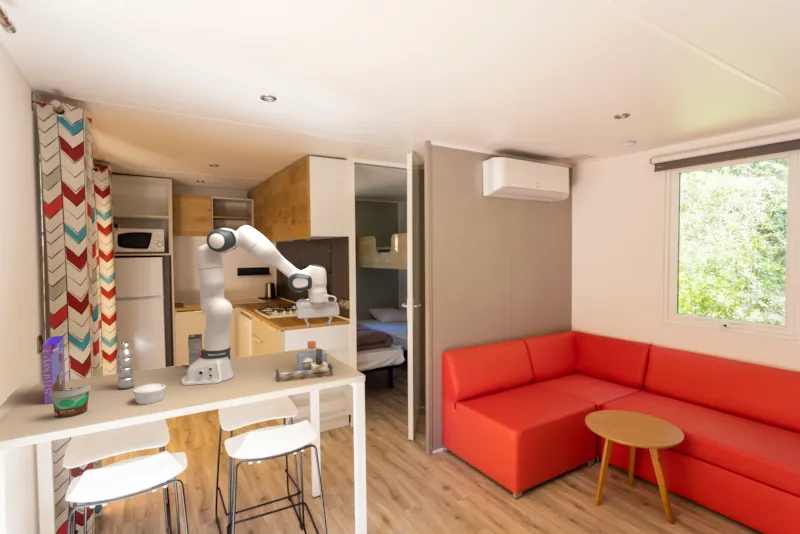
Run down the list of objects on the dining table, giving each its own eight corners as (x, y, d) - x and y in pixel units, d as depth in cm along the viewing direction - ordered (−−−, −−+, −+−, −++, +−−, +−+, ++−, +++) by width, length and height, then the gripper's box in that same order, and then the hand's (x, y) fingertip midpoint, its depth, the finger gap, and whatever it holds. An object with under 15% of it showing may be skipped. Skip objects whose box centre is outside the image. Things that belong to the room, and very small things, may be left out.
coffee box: (189, 364, 217) (188, 334, 217) (202, 363, 220) (202, 333, 219) (188, 368, 209) (188, 338, 208) (202, 367, 212) (201, 336, 211)
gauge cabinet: (299, 374, 200) (298, 356, 199) (296, 369, 208) (296, 352, 207) (327, 371, 205) (327, 353, 204) (324, 366, 213) (324, 349, 212)
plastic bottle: (138, 385, 183) (137, 341, 182) (125, 391, 176) (123, 345, 176) (127, 384, 185) (126, 341, 184) (113, 389, 178) (112, 344, 177)
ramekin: (169, 400, 165) (168, 387, 165) (137, 408, 158) (136, 394, 157) (161, 393, 173) (161, 381, 173) (130, 400, 166) (130, 387, 165)
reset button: (308, 348, 204) (308, 343, 203) (307, 347, 207) (307, 341, 207) (316, 348, 205) (316, 342, 205) (315, 346, 209) (315, 340, 209)
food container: (48, 422, 144) (47, 394, 144) (50, 416, 149) (48, 389, 149) (91, 414, 152) (90, 387, 151) (92, 408, 157) (91, 383, 156)
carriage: (312, 373, 194) (312, 351, 194) (310, 370, 200) (310, 348, 199) (327, 372, 197) (327, 350, 196) (325, 369, 202) (324, 347, 202)
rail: (276, 382, 188) (276, 372, 188) (275, 377, 195) (275, 368, 194) (332, 375, 197) (332, 366, 197) (329, 371, 204) (329, 362, 204)
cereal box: (60, 402, 164) (58, 343, 163) (44, 404, 161) (42, 344, 160) (65, 389, 178) (63, 335, 177) (51, 391, 175) (49, 336, 174)
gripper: (296, 300, 190) (297, 329, 191) (339, 297, 197) (340, 325, 198) (295, 298, 196) (295, 327, 197) (337, 296, 203) (337, 323, 204)
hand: (318, 326), depth 197 cm, fingers open, 8 cm apart
